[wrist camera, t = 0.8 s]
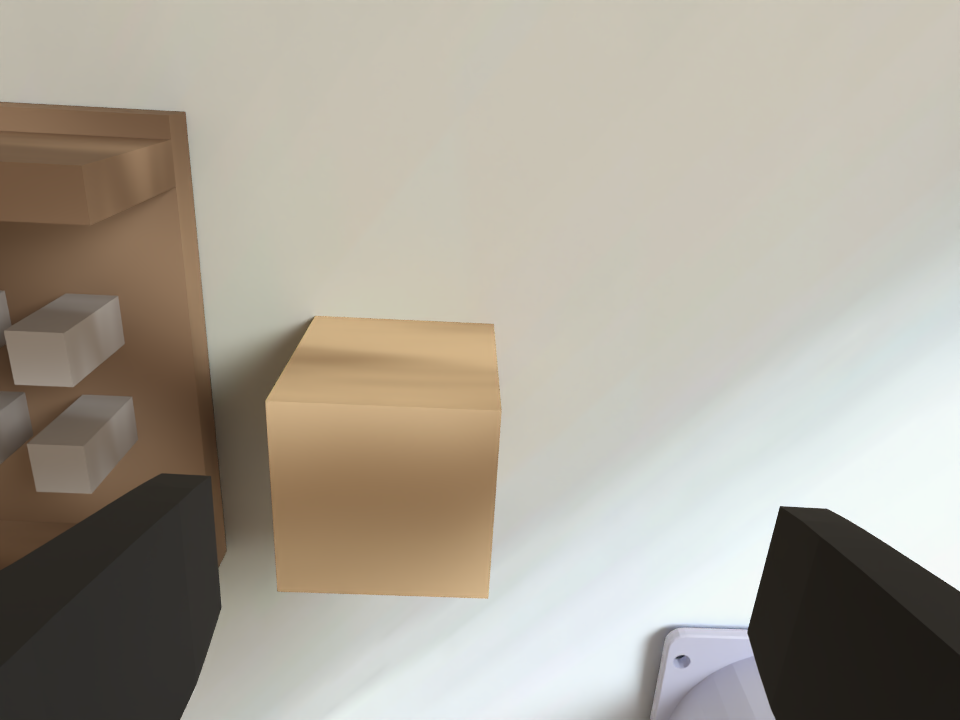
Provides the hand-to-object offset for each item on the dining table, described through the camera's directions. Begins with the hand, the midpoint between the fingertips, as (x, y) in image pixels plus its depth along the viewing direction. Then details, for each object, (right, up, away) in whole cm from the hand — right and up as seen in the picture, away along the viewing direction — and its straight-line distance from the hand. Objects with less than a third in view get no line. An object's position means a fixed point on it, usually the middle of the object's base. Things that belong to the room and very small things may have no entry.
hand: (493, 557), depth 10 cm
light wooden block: (-2, +1, +10) cm, 11 cm away
